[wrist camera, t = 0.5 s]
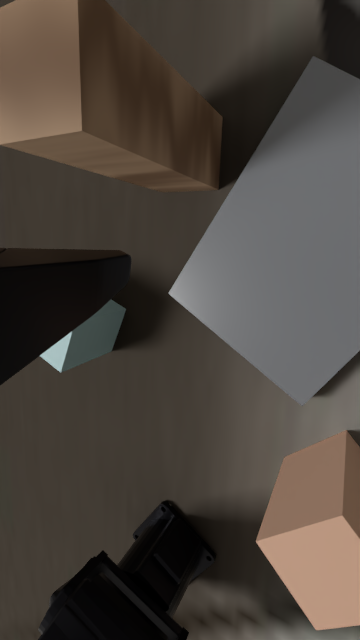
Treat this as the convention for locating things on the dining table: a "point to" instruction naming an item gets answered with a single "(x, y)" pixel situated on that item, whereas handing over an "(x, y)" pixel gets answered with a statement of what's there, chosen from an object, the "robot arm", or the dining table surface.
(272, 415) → the dining table surface
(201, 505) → the dining table surface
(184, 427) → the dining table surface
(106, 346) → the teal block
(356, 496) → the terracotta block
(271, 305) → the baseplate
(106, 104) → the walnut block
